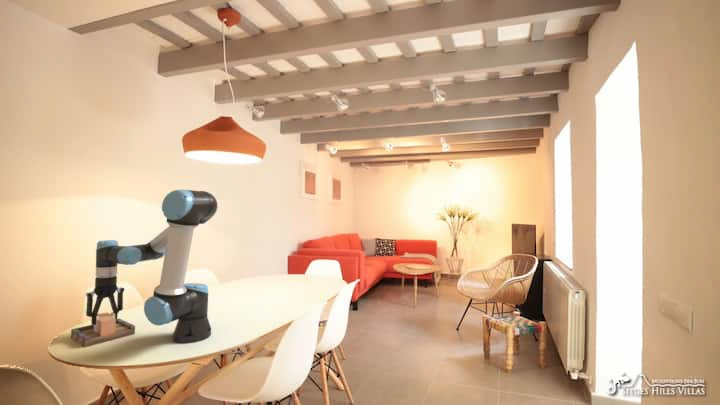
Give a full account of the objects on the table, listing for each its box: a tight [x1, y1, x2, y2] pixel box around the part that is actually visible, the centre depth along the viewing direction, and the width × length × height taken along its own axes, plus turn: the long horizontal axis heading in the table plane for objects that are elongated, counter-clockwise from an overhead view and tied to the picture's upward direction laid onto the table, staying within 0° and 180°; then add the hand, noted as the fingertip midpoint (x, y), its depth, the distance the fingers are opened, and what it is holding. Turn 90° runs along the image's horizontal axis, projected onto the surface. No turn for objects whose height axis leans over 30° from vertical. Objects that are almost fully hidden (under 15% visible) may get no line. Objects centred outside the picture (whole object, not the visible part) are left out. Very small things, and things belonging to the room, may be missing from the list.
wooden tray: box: [70, 318, 136, 348], centre depth 148 cm, size 16×18×4 cm
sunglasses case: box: [93, 311, 116, 336], centre depth 147 cm, size 13×5×6 cm, turn 49°
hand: (104, 329), depth 147 cm, fingers closed on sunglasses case, 5 cm apart
